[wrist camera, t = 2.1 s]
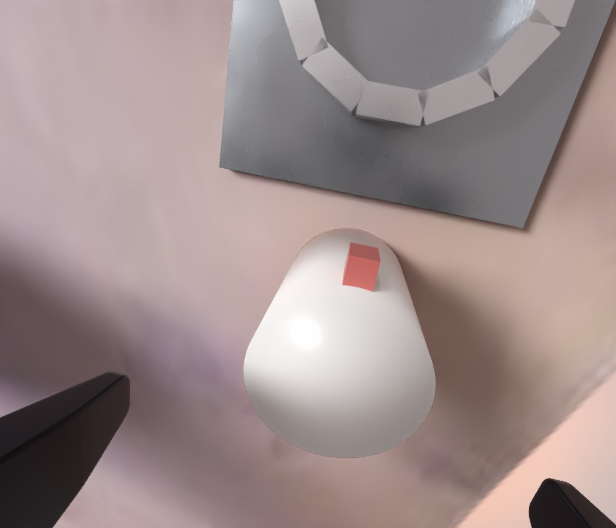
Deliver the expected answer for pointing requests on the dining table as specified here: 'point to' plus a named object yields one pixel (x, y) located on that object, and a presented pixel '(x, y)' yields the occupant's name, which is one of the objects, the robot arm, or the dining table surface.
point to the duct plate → (408, 96)
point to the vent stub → (341, 351)
